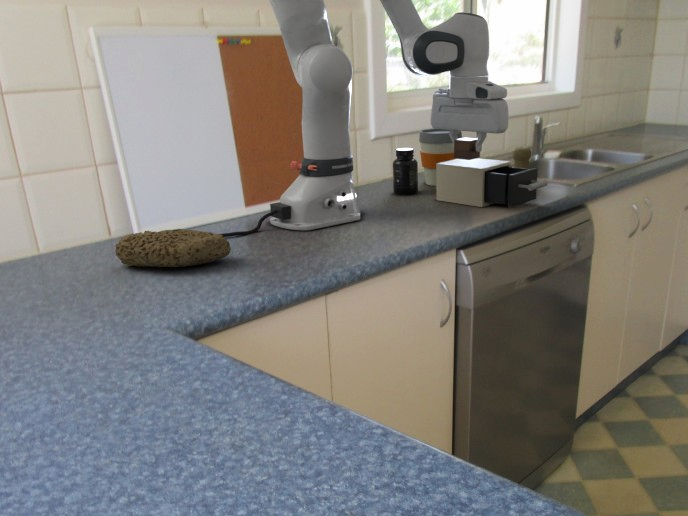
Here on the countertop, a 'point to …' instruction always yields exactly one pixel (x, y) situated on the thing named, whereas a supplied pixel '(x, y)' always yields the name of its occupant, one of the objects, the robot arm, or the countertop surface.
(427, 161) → the reusable coffee cup
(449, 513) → the countertop surface
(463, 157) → the block
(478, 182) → the cabinet
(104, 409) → the countertop surface
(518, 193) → the drawer
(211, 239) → the sponge
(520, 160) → the cork
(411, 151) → the supplement bottle
